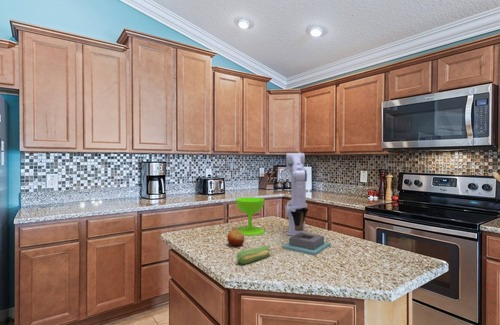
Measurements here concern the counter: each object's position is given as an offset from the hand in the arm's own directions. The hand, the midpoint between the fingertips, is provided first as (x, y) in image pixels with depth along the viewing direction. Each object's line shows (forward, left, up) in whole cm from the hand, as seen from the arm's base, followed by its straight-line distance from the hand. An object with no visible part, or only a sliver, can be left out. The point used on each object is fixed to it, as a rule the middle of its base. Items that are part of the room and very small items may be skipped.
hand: (299, 224), depth 134 cm
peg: (0, 0, -2) cm, 3 cm away
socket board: (-1, +3, -10) cm, 11 cm away
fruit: (+17, -25, -10) cm, 32 cm away
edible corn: (+26, -6, -10) cm, 29 cm away
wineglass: (-7, -34, -10) cm, 36 cm away
